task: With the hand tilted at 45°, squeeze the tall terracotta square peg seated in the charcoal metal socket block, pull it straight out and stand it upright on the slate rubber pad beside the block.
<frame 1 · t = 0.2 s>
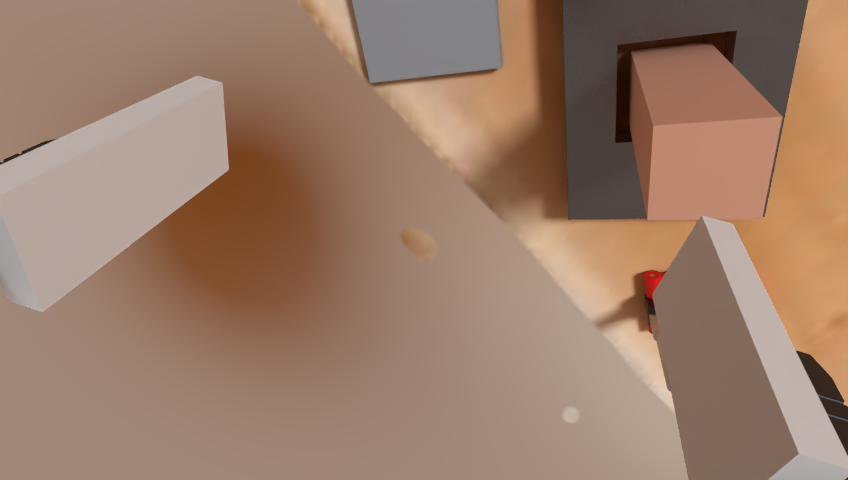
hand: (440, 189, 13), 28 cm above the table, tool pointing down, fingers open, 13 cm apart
tow hook: (699, 293, 44), on the table
peg: (682, 117, 29), in the socket block
socket block: (666, 81, 36), on the table
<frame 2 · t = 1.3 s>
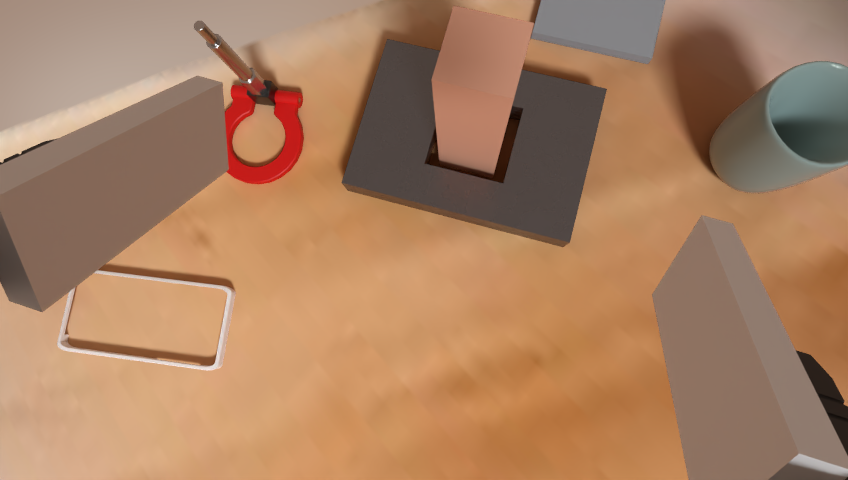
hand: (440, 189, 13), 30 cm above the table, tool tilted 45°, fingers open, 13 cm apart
tow hook: (262, 138, 47), on the table
cup: (739, 160, 43), on the table
peg: (476, 108, 37), in the socket block
phone case: (154, 318, 45), on the table
socket block: (473, 146, 45), on the table
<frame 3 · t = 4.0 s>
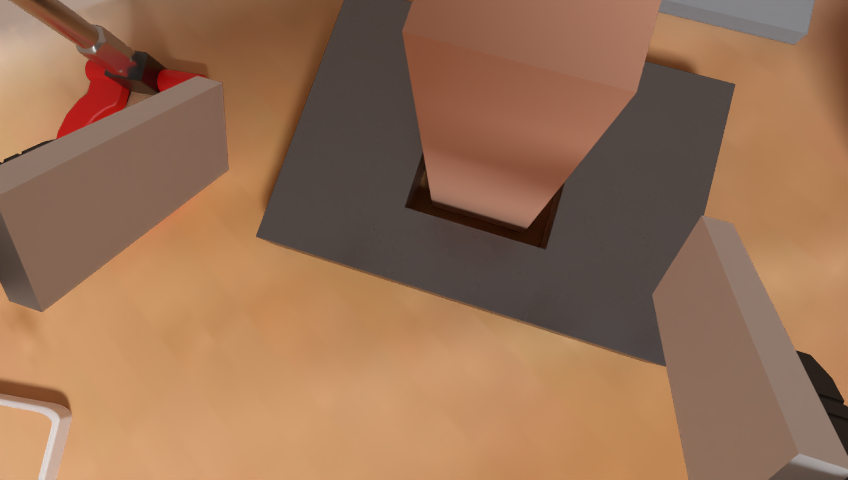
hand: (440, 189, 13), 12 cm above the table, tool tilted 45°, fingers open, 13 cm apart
tow hook: (140, 149, 28), on the table
peg: (507, 113, 18), in the socket block
socket block: (490, 175, 26), on the table
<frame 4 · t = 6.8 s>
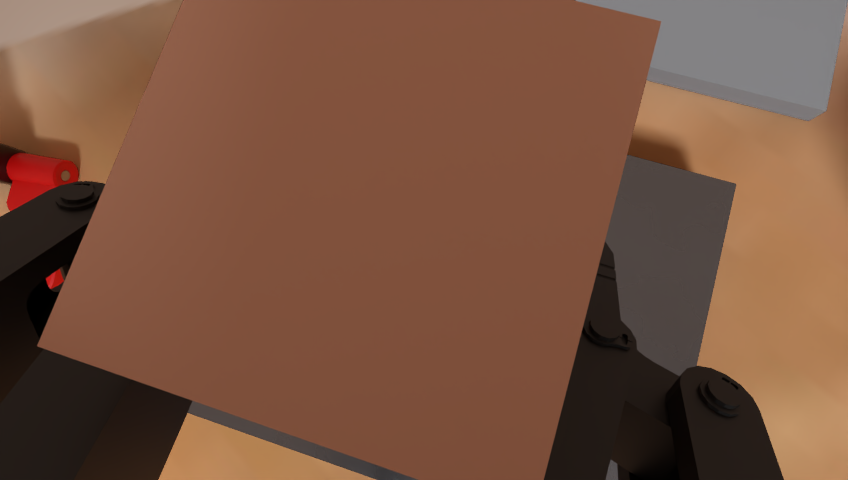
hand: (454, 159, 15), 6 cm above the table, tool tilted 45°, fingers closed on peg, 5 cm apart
peg: (414, 268, 13), in the socket block, touching gripper
socket block: (427, 289, 21), on the table
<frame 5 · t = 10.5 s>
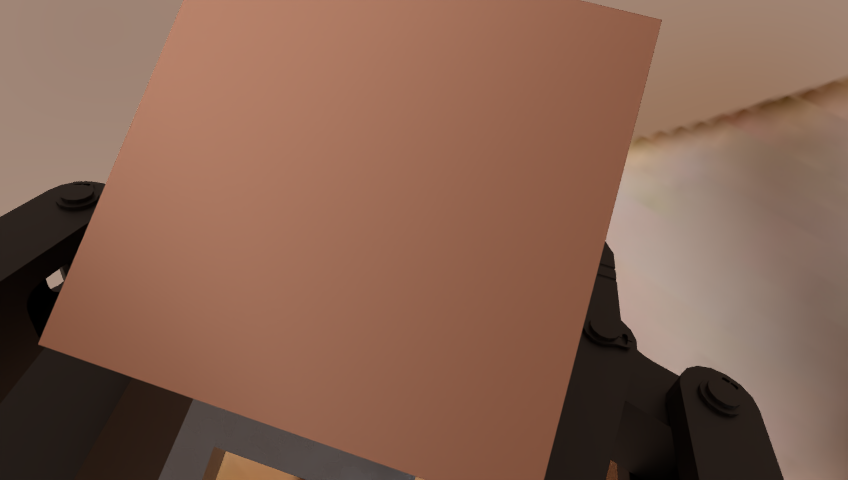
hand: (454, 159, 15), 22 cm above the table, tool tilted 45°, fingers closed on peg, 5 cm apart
peg: (414, 267, 13), point 24 cm above the table, touching gripper
when the fingers open (9 cm above the table, at t = 14.2 s): peg drops 1 cm, resting on pad.
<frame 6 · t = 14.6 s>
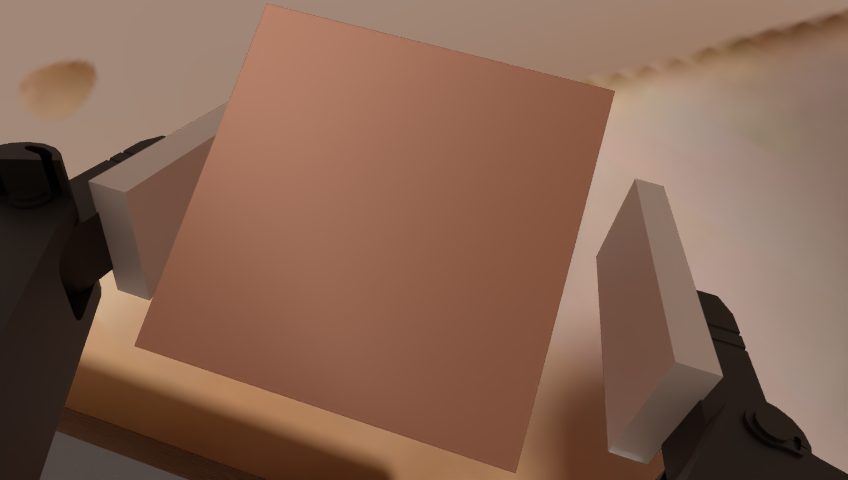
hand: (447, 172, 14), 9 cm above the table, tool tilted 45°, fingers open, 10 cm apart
peg: (417, 275, 14), on the pad, point 9 cm above the table
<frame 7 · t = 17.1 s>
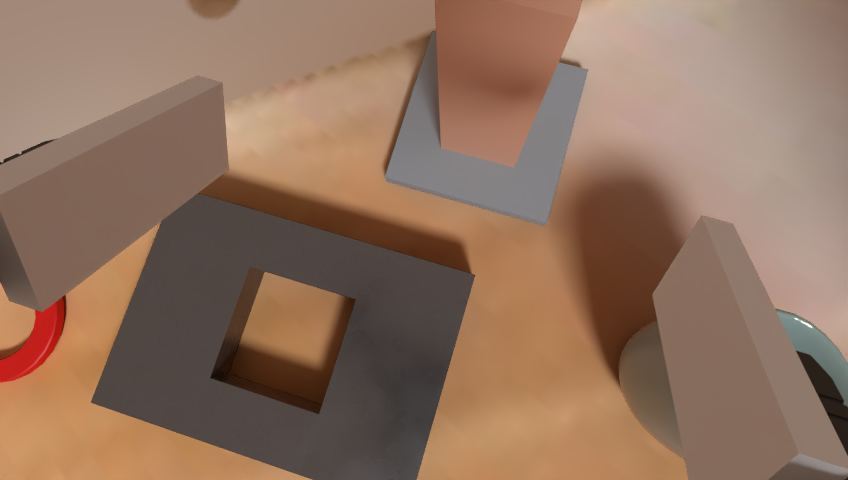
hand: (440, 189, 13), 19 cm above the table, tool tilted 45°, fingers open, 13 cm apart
tow hook: (13, 311, 34), on the table
cup: (664, 374, 31), on the table
peg: (499, 60, 25), on the pad, point 9 cm above the table
socket block: (296, 337, 32), on the table
pad: (486, 128, 34), on the table
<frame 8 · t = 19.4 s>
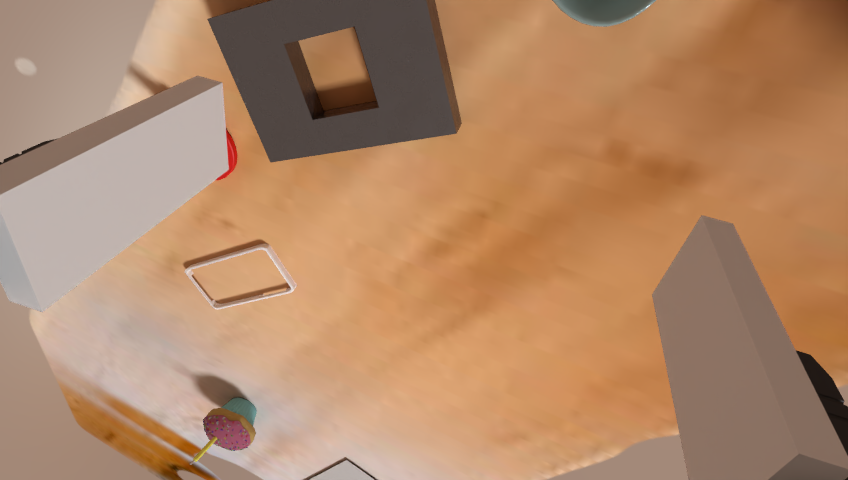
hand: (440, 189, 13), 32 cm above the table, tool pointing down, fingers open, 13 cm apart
tow hook: (202, 139, 55), on the table
cupcake: (245, 405, 83), on the table
phone case: (243, 273, 66), on the table
socket block: (342, 68, 46), on the table
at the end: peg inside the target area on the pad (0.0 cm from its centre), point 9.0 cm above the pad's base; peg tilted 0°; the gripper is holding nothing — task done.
